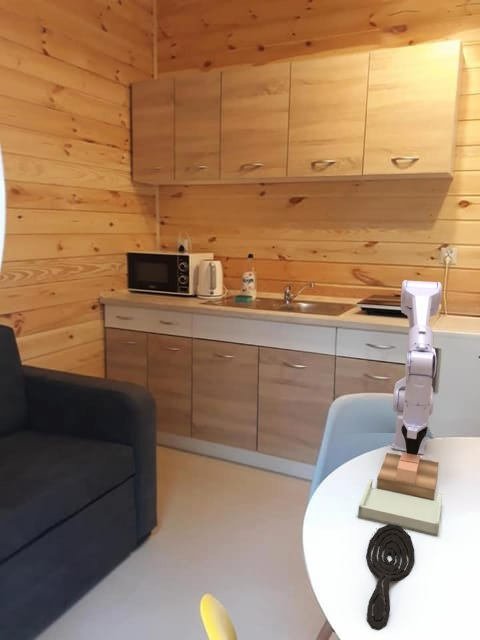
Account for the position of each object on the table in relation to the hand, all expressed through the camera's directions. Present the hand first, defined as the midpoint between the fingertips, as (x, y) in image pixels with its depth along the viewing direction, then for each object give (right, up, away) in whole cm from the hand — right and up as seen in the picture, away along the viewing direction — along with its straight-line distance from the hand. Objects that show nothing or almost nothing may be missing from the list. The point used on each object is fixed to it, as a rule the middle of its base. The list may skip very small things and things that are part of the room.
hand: (412, 455), depth 129 cm
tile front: (-4, -3, -9) cm, 10 cm away
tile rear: (-2, -2, -5) cm, 6 cm away
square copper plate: (-2, -5, -4) cm, 7 cm away
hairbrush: (-16, -12, -37) cm, 42 cm away
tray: (-8, -7, -16) cm, 20 cm away
